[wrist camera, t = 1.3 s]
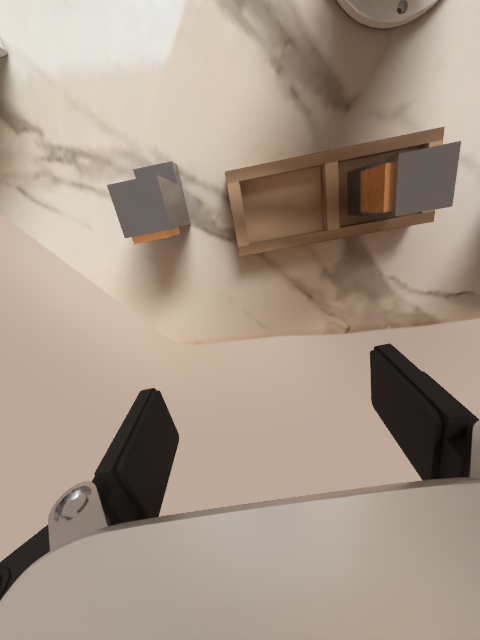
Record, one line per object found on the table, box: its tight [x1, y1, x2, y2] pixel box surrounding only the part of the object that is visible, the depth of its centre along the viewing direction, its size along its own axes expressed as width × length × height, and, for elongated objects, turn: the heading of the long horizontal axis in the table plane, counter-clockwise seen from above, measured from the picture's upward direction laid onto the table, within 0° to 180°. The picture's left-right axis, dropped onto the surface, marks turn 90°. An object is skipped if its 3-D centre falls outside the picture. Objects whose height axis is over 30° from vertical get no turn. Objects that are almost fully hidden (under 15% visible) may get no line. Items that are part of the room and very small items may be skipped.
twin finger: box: [347, 141, 461, 217], centre depth 22 cm, size 4×7×9 cm, turn 100°
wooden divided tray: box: [225, 127, 444, 256], centre depth 27 cm, size 8×20×4 cm, turn 100°
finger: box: [107, 162, 191, 244], centre depth 24 cm, size 4×7×9 cm, turn 10°
